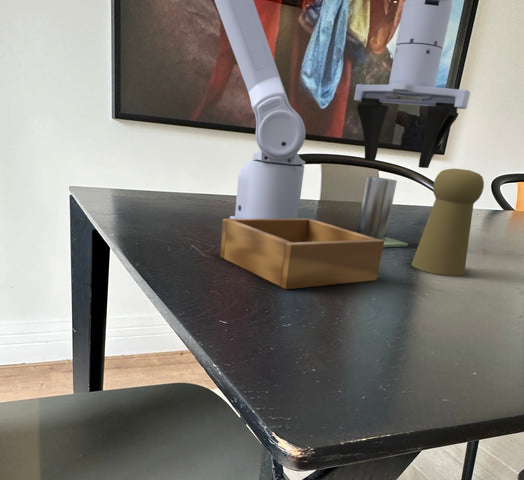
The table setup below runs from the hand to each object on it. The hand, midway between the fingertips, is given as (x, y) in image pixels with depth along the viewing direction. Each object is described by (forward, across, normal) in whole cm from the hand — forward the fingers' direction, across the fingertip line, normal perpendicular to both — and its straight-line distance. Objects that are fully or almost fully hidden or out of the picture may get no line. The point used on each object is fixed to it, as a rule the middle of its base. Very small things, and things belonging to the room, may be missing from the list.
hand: (395, 164), depth 67 cm
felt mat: (+10, -1, -2) cm, 11 cm away
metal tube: (+10, -1, -2) cm, 10 cm away
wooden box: (+10, +1, -25) cm, 27 cm away
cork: (+11, +11, -10) cm, 18 cm away
